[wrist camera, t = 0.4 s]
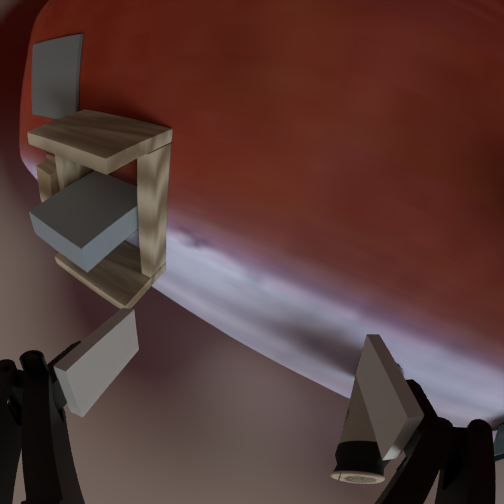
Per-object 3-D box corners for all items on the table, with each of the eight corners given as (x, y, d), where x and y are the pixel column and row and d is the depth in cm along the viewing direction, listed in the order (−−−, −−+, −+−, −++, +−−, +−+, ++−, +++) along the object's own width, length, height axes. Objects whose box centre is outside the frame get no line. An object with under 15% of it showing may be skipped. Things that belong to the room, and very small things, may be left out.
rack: (85, 109, 31) (27, 132, 23) (172, 128, 28) (105, 158, 21) (95, 231, 46) (56, 263, 38) (165, 269, 43) (126, 313, 36)
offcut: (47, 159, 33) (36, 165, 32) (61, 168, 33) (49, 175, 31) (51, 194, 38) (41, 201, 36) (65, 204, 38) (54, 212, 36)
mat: (36, 43, 26) (33, 44, 25) (83, 33, 23) (79, 34, 23) (35, 113, 35) (32, 114, 34) (78, 122, 32) (75, 123, 32)
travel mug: (410, 363, 35) (394, 477, 21) (394, 387, 39) (375, 485, 26) (362, 356, 38) (333, 470, 24) (351, 381, 42) (324, 478, 29)
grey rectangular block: (96, 169, 37) (28, 211, 27) (154, 193, 35) (81, 248, 25) (97, 189, 39) (35, 233, 29) (154, 215, 37) (87, 272, 28)
